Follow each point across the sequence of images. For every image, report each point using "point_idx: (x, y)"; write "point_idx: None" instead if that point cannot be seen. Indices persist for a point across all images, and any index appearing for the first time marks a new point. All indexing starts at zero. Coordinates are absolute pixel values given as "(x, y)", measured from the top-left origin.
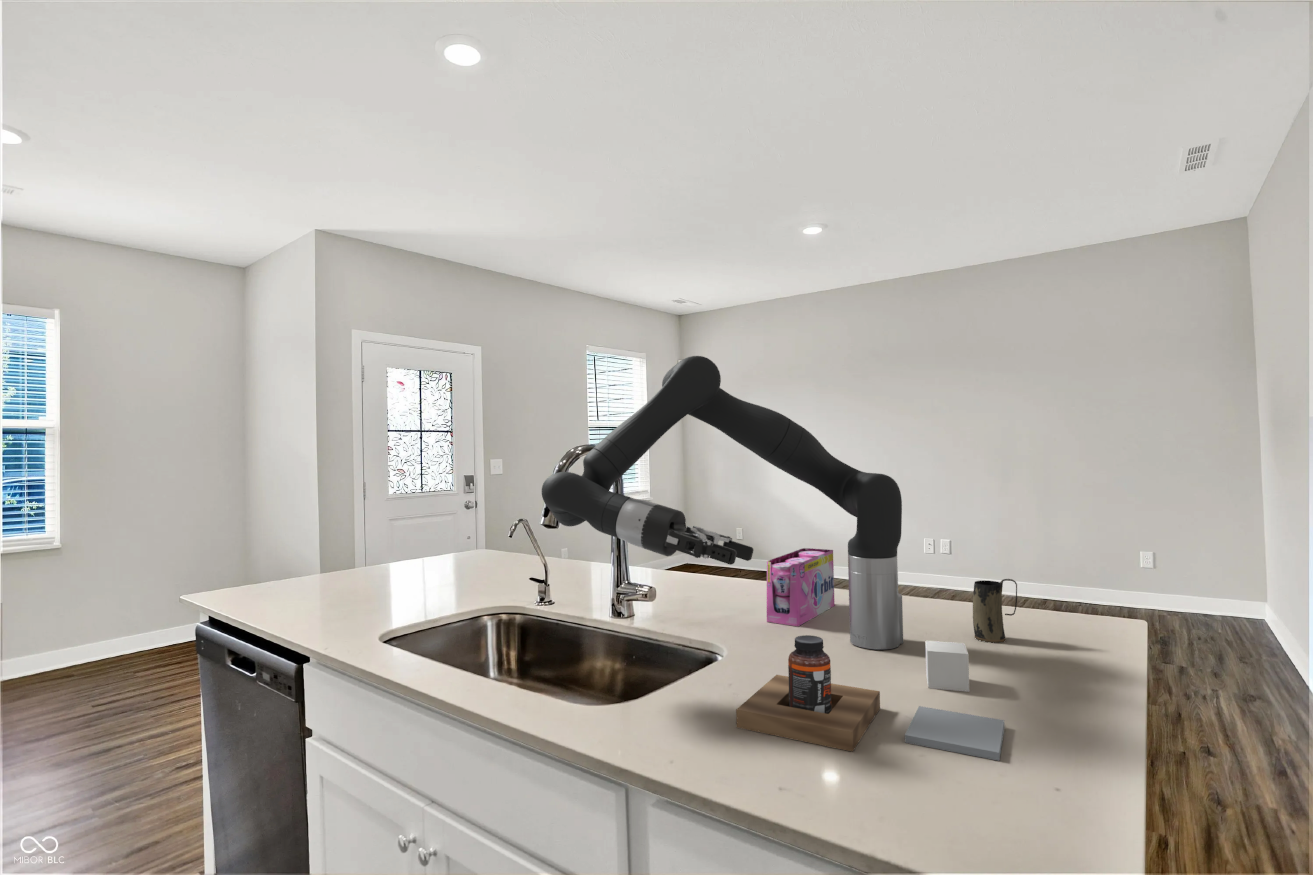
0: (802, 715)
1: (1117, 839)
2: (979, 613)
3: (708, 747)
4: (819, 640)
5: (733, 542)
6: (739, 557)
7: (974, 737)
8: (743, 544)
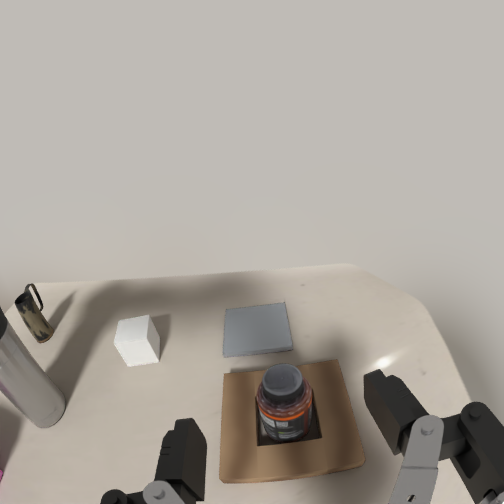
0: (333, 404)
1: (334, 267)
2: (36, 322)
3: None
4: (283, 365)
5: (184, 471)
6: (204, 466)
7: (268, 315)
8: (171, 444)
